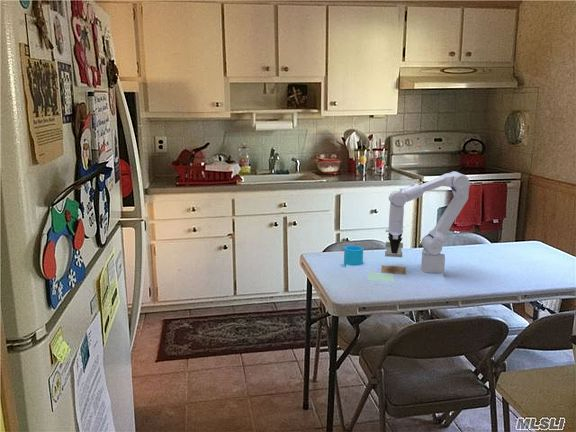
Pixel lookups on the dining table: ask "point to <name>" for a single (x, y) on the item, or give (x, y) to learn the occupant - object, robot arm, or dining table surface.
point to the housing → (389, 253)
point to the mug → (353, 255)
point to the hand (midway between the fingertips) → (394, 251)
